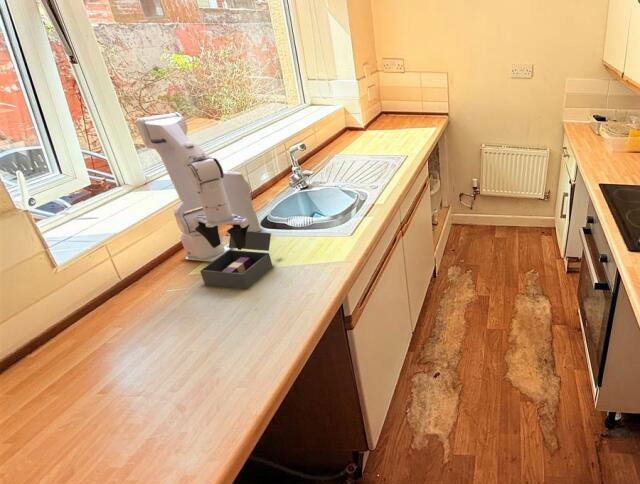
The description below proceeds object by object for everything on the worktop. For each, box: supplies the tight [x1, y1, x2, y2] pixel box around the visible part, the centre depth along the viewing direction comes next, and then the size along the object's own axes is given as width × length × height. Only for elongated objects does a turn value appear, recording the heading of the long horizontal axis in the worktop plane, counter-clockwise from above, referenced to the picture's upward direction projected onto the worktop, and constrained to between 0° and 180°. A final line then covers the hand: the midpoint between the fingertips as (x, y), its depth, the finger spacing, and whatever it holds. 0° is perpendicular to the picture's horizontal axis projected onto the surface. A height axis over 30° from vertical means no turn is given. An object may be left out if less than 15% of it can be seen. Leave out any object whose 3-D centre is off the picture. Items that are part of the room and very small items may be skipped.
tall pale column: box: [221, 170, 262, 232], centre depth 136 cm, size 11×4×22 cm, turn 82°
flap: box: [228, 231, 272, 252], centre depth 119 cm, size 13×5×1 cm
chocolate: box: [221, 257, 252, 274], centre depth 115 cm, size 3×8×4 cm, turn 173°
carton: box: [199, 249, 274, 290], centre depth 115 cm, size 13×11×5 cm
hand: (229, 247), depth 112 cm, fingers open, 7 cm apart
